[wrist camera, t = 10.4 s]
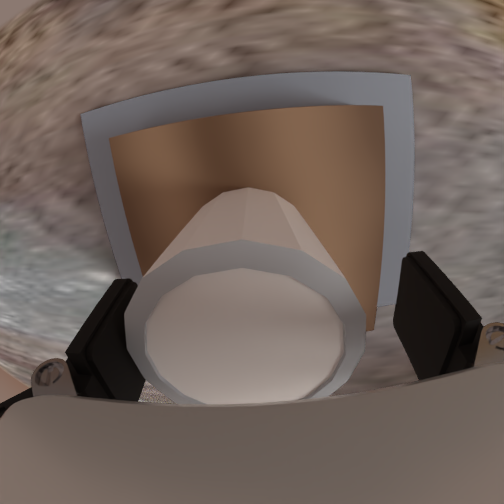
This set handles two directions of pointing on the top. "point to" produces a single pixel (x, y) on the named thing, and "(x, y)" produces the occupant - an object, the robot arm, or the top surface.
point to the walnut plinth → (265, 179)
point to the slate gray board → (260, 98)
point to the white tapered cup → (245, 308)
